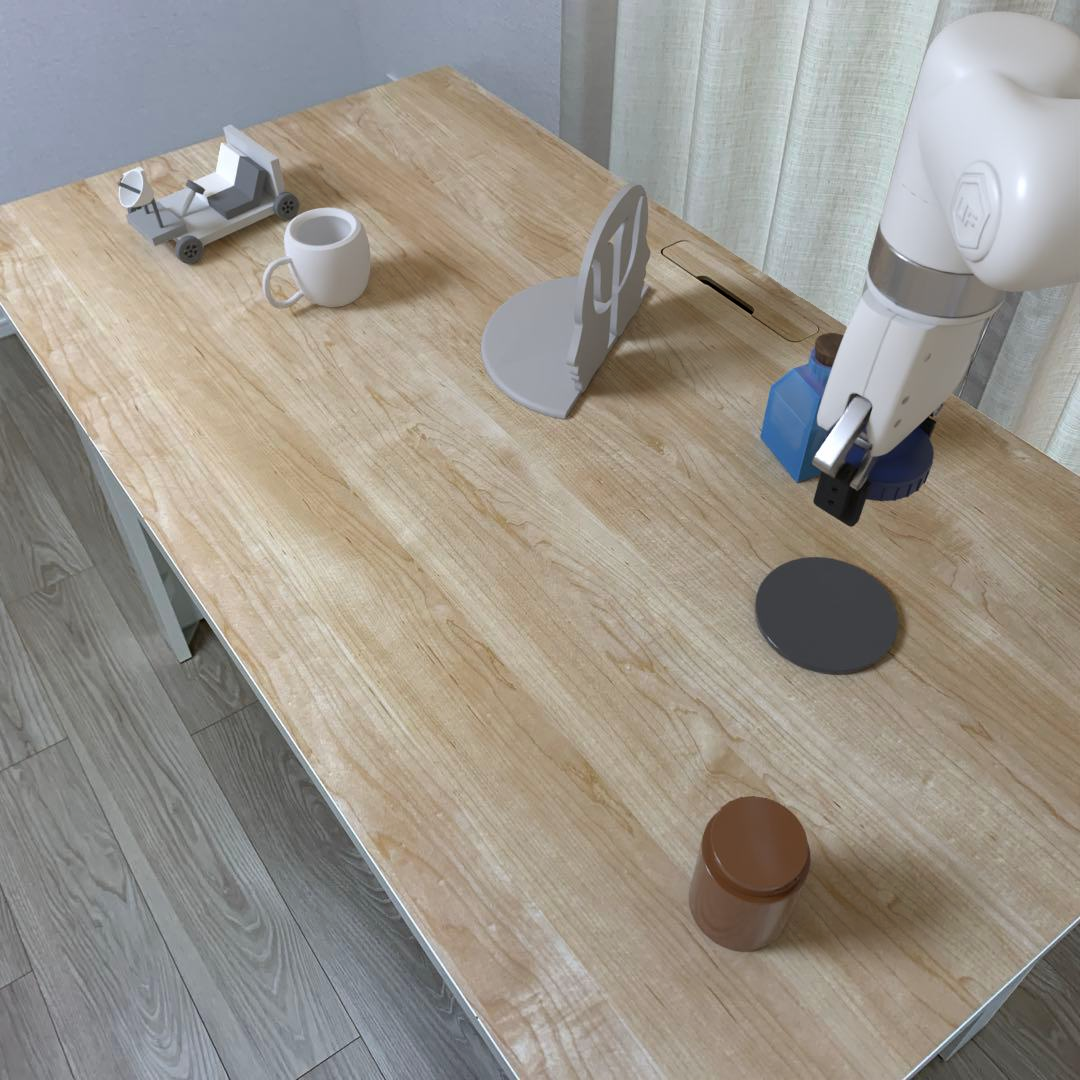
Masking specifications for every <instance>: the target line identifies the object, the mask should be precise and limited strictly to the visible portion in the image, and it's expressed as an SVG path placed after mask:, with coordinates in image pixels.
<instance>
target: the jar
mask: <svg viewBox="0 0 1080 1080" xmlns="http://www.w3.org/2000/svg"><path fill="white" fill-rule="evenodd" d="M807 836H808V835H807V833H806V831H805V828H804V826H803V825H802V823H801V821H800V820H799V819H798V818H797V816H796V815H795V814H794V812H792V811H791V810H790V809H789V808H787V807H786V806H784V805H783V804H781V803H779V802H777V801H775V800H773V799H770V798H768V797H764V796H763V797H762V796H755V795H749V796H740V797H737V798H735V799H732V800H729V801H728V802H727V803H725V804H724V805H723V806H722V807H720V809H719V810H718V811H717V812H716V813H715V814H713V816H712V817H711V818H710V819H709V821H707V824H706V825H705V828H704V830H703V834H702V837H701V842H700V845H699V849H698V854H697V857H696V861H695V864H694V865H695V866H694V869H693V872H692V873H693V874H692V877H691V882H690V886H689V892H688V901H689V902H688V903H689V908H690V912H691V915H692V918H693V920H694V922H695V924H696V925H697V927H698V928H699V930H700V931H701V932H702V934H704V936H705V937H707V938H708V939H709V940H710V941H712V942H713V943H715V944H716V945H718V946H720V947H722V948H724V949H727V950H731V951H735V952H742V953H743V952H754V951H757V950H761V949H763V948H766V947H767V946H769V945H771V944H772V943H774V942H775V941H776V940H777V939H778V938H779V936H780V935H781V934H782V933H783V931H784V929H785V927H786V925H787V922H788V920H789V919H790V916H791V914H792V912H793V910H794V907H795V906H796V903H797V901H798V899H799V897H800V894H801V892H802V890H803V888H804V886H805V883H806V881H807V880H808V876H809V874H810V869H811V865H812V864H811V863H812V862H811V861H812V856H811V855H812V854H811V849H810V844H809V841H808V837H807Z"/></svg>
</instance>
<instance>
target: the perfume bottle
mask: <svg viewBox="0 0 1080 1080" xmlns="http://www.w3.org/2000/svg"><path fill="white" fill-rule="evenodd" d="M843 336H844V334H841V333H837V332H827V333H823V334H819V336H818V337H817V338H816V339H815V341H814V347H813V348H812V349H811V351H810V353H809V359H808V362H807V363H806V364H803V365H800V366H796V367H793V368H792V369H791V370H789V371H788V372H787V373H786V374H784V375H783V376H782V377H781V378H779V379H778V380H776V381H775V382H774V383H773V384H771V385H770V388H769V391H768V398H767V401H766V407H765V411H764V416H763V422H762V426H761V431H760V436H759V438H760V439H761V441H762V442H763V443H764V444H765V445H766V447H767V448H768V449H769V451H770V452H771V453H772V454H773V455H774V457H775V458H776V459H777V461H778V462H779V463H780V464H781V465H782V467H783V468H784V469H785V470H786V472H787V473H788V474H789V476H791V478H792V479H793V480H794V481H795V483H796V484H799V483H801V482H803V481H806V480H810V479H813V478H815V477H818V476H820V475H821V470H819V469H818V468H817V467H816V466H814V465H813V464H812V461H813V458H814V457H815V455H816V453H817V452H818V450H819V449H820V447H821V446H822V443H823V440H824V438H825V437H826V433H827V430H825V429H824V428H822V427H820V426H818V423H817V415H818V410H819V407H820V404H821V400H822V397H823V394H824V391H825V388H826V384H827V381H828V378H829V375H830V372H831V369H832V367H833V364H834V360H835V358H836V355H837V352H838V349H839V347H840V344H841V341H842V339H843Z"/></svg>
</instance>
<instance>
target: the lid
mask: <svg viewBox="0 0 1080 1080" xmlns="http://www.w3.org/2000/svg"><path fill="white" fill-rule="evenodd" d="M835 425H836V424H835ZM835 425H834V426H835ZM834 426H833V427H832V428H831V429H829V430H828V431H827V433H826V437H825V438H824V440H823V443H824V441H825V440H826V438H827V437H828V435H829V434H830V432H831V431H832V429H833V428H834ZM866 426H867V425H866ZM866 426H865V428H864V429H863V431H862V432H863V433H865V434H867V431H866ZM823 443H822V444H823ZM934 451H935V450H934V445H933V442H932V441H931V438H930V439H929V437H928V436H927V434H926V433H925V432H924V431H923V430H922V428H920V427H919V426H917V427H916V428H915V429H914V430H913V431H912V432H911V433H910V434H909V435H908V436H907V437H906V438H904V439H903V440H902V441H901V442H900V443H899V444H898V445H897V446H896V447H894V448H893V449H892V450H891V451H890V452H888V453H887V454H884V455H881V456H879V458H878V459H877V461H876V463H875V465H874V467H873V469H872V471H871V472H870V474H869V476H868V478H867V480H868V481H869V482H870V483H871V486H870V489H869V492H868V495H867V498H866V500H868V501H876V502H893V501H894V502H897V501H898V500H902V499H905V498H909V497H910V496H911V495H913V494H914V493H916V492H917V493H918V492H919V491H920V488H922V486H923V485H924V484H926V482H927V479H928V477H929V474H930V472H931V469H932V466H933V463H934V462H933V461H934V456H935V452H934ZM865 453H866V451H865V450H863V449H861V448H859V447H858V446H856V445H854V444H853V445H852V447H851V448H850V450H849V451H848V453H847V455H846V457H845V461H847V462H849V463H850V464H852V465H854V466H855V467H857V468H858V466H859V464H860V463H861V461H862V459H863V457H864V455H865Z"/></svg>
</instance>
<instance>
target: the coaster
mask: <svg viewBox="0 0 1080 1080" xmlns="http://www.w3.org/2000/svg"><path fill="white" fill-rule="evenodd" d="M754 600H755V601H754V617H755V622H756V624H757V627H758V630H759V631H760V633H761V635H762V637H763V639H765V641H766V642H767V644H768V645H769V646H770V647H771V648H772V649H773V650H774V651H775V652H776V653H777V654H778V655H780V656H781V657H782V658H784V659H785V660H787V661H788V662H790V663H792V664H793V665H795V666H797V667H800V668H803V669H805V670H808V671H811V672H815V673H818V674H819V673H820V674H825V675H848V674H853V673H857V672H862V671H865V670H866V669H868V668H872V666H875V665H876V664H878V663H879V662H881V660H882V659H884V658H885V656H887V654H888V653H889V652H890V650H891V649H892V647H893V645H894V643H895V640H896V637H897V635H898V630H899V618H898V611H897V608H896V605H895V603H894V601H893V599H892V597H891V595H890V593H889V592H888V591H887V590H886V588H885V587H884V586H883V585H882V584H881V583H880V582H879V580H877V579H876V578H875V577H874V576H873V575H872V574H870V573H869V572H867V571H865V570H864V569H862V568H860V567H858V566H856V565H854V564H852V563H849V562H846V561H843V560H839V559H836V558H830V557H822V556H807V557H801V558H797V559H796V558H795V559H792V560H789V561H787V562H785V563H782V564H780V565H778V566H777V567H775V568H774V569H773V570H772V571H770V572H769V573H768V574H767V575H766V576H765V577H764V578H763V580H762V582H761V583H760V584H759V587H758V590H757V592H756V595H755V599H754Z"/></svg>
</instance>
